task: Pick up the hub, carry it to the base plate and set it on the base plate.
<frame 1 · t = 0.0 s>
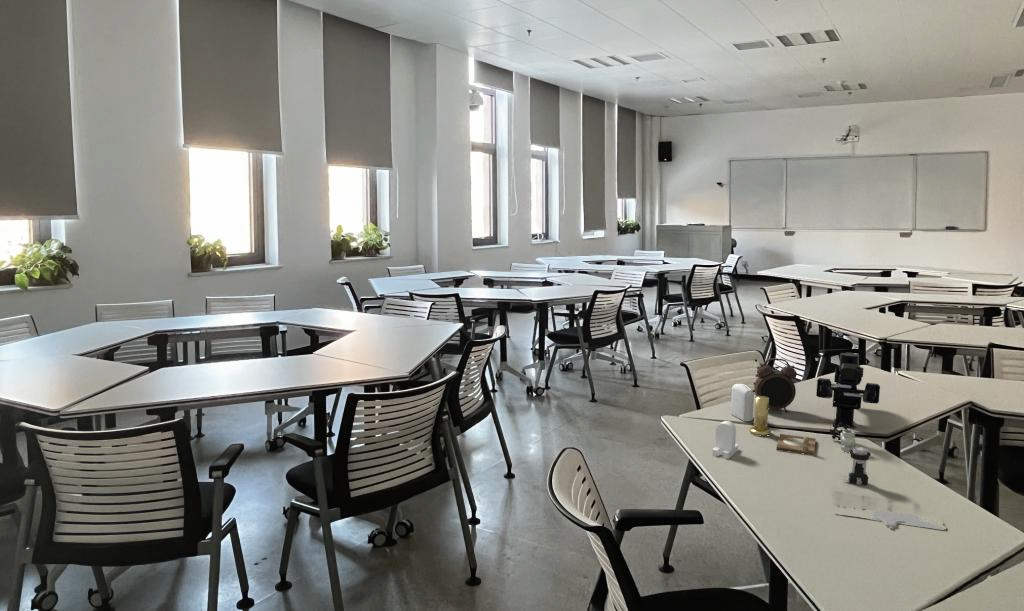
hand: (847, 397, 226), 17 cm above the table, tool horizontal, fingers open, 9 cm apart
alarm clock: (774, 411, 267), on the table
base plate: (796, 445, 230), on the table
white phone stand: (725, 453, 224), on the table
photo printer: (741, 418, 259), on the table
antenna: (885, 512, 183), on the table
black white upright piece: (855, 483, 200), on the table
valve: (844, 447, 229), on the table
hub: (760, 433, 242), on the table
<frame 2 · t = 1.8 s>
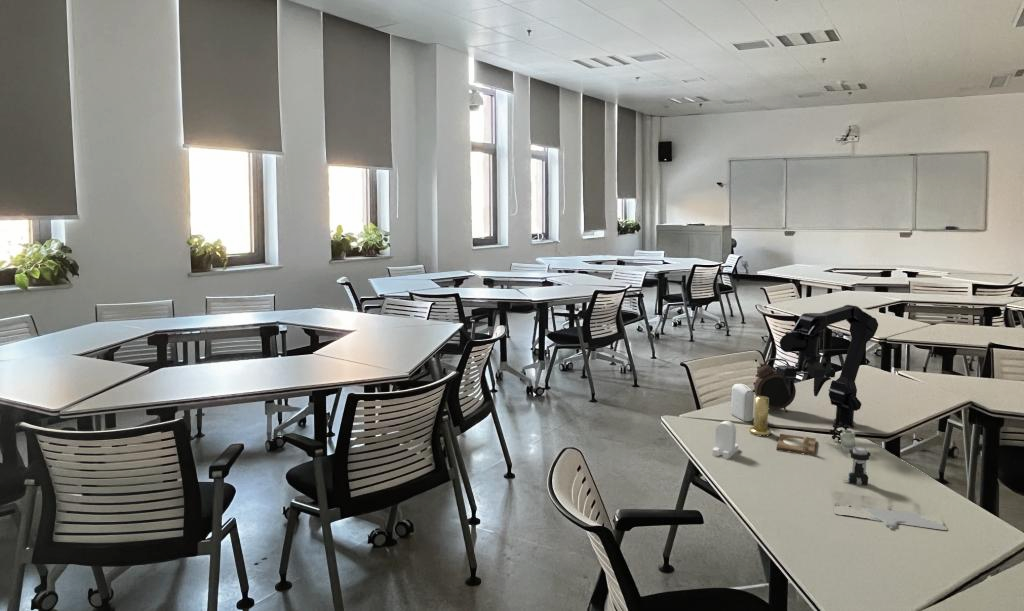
hand: (803, 396, 242), 13 cm above the table, tool pointing down, fingers open, 9 cm apart
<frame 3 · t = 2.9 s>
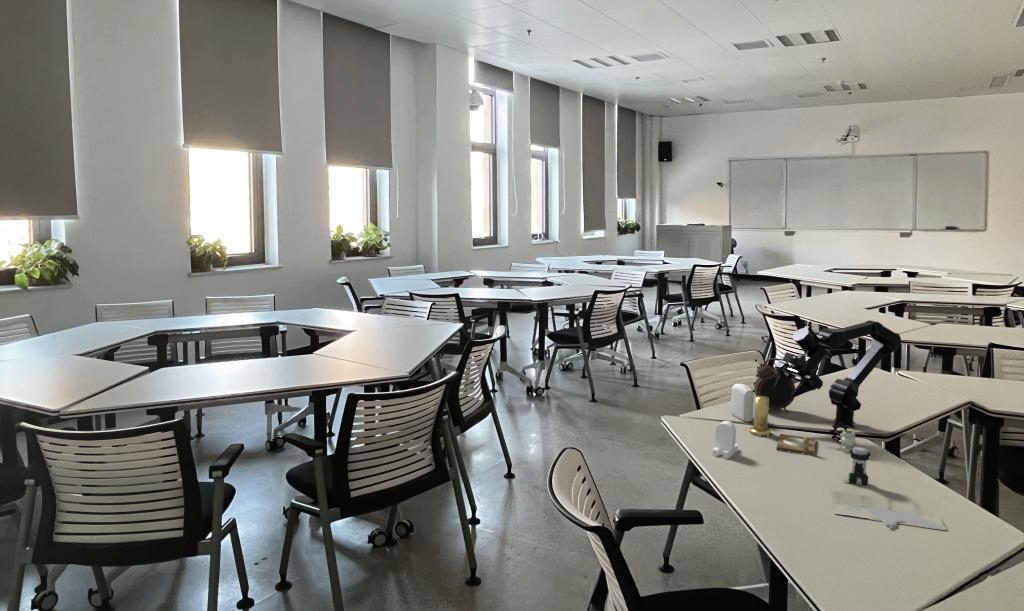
hand: (782, 393, 242), 13 cm above the table, tool tilted 45°, fingers open, 9 cm apart
nothing on the table moved.
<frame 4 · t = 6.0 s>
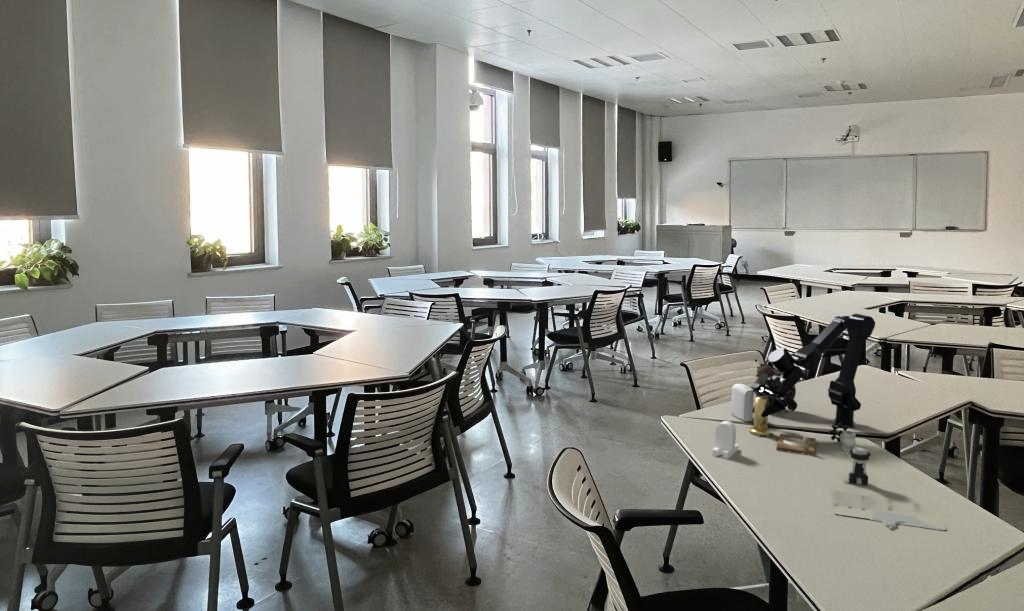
hand: (757, 414, 240), 7 cm above the table, tool tilted 45°, fingers closed on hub, 4 cm apart
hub: (760, 433, 242), on the table, touching gripper
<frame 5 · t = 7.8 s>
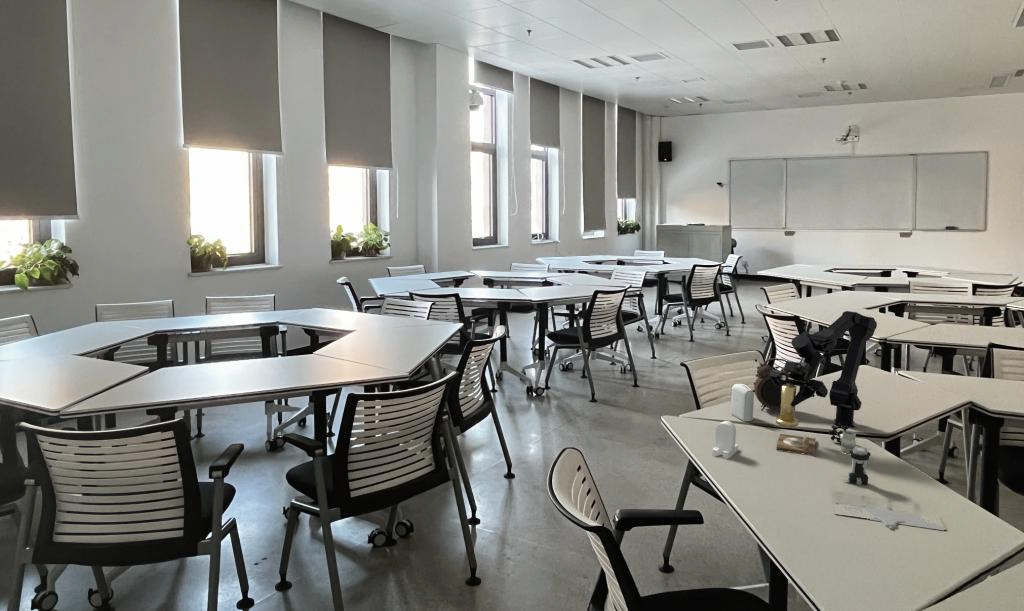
hand: (785, 404, 230), 13 cm above the table, tool tilted 45°, fingers closed on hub, 4 cm apart
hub: (787, 423, 232), point 7 cm above the table, touching gripper
when the fingers open (9 cm above the table, at t = 9.6 s): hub stays where it is, resting on base plate.
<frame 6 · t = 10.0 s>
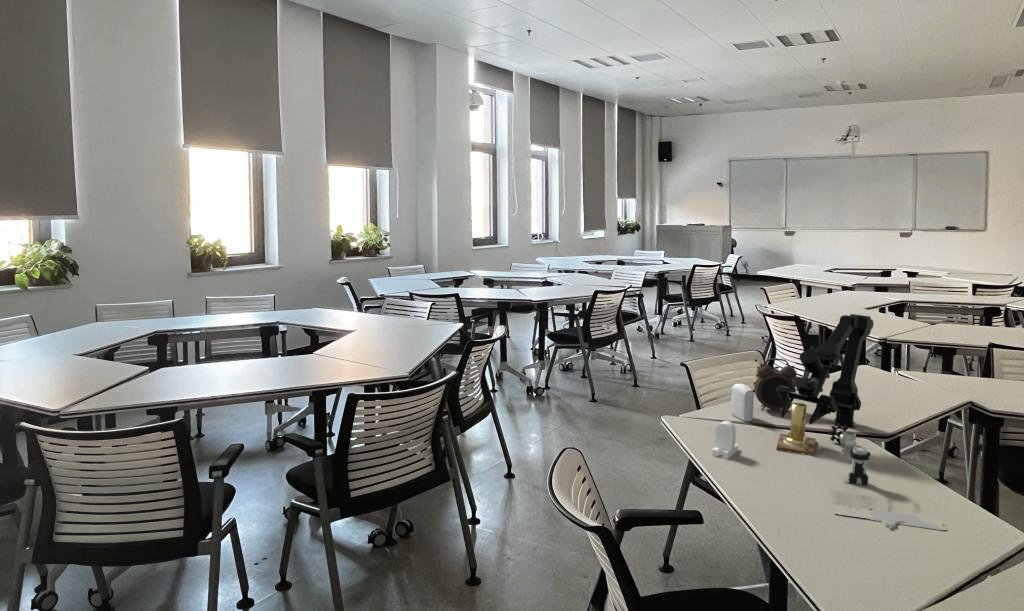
hand: (795, 420, 227), 9 cm above the table, tool tilted 45°, fingers open, 9 cm apart
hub: (796, 442, 230), point 1 cm above the table, touching base plate
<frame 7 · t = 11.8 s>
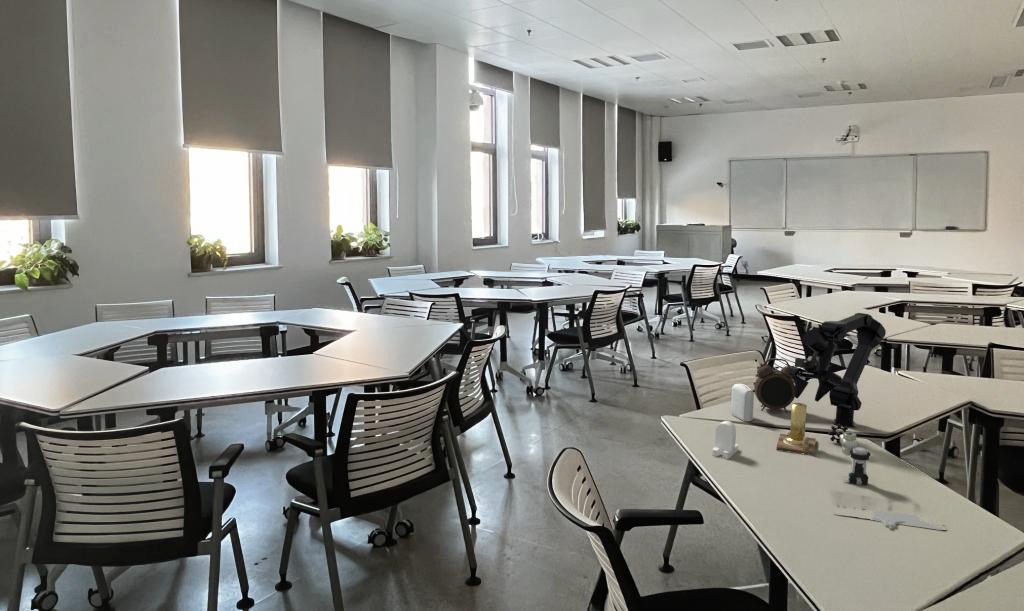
hand: (805, 399, 236), 13 cm above the table, tool tilted 30°, fingers open, 9 cm apart
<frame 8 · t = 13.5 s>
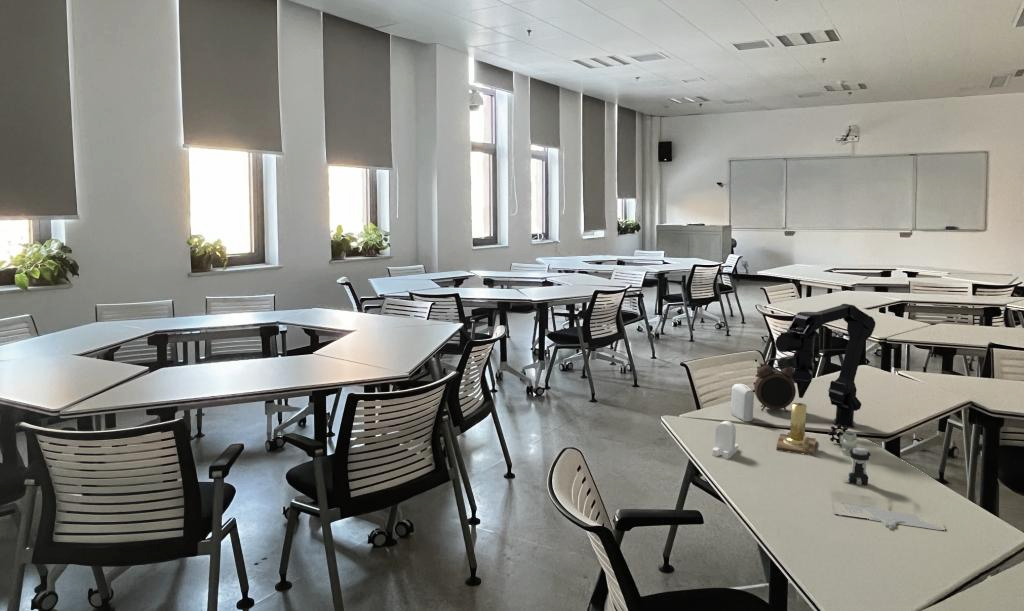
hand: (801, 394, 242), 13 cm above the table, tool pointing down, fingers open, 9 cm apart
at the end: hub 0.2 cm from the base plate (horizontally); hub tilted 0°; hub point 1.2 cm above the table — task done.
